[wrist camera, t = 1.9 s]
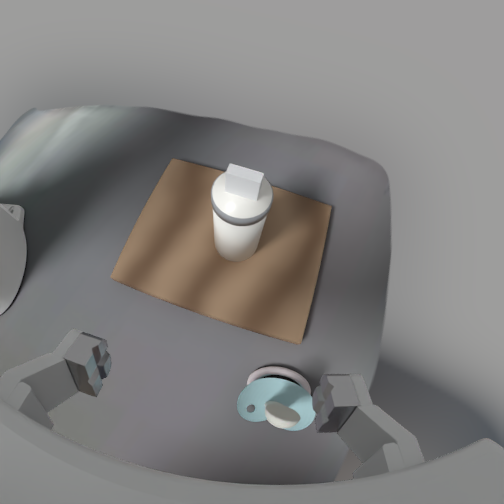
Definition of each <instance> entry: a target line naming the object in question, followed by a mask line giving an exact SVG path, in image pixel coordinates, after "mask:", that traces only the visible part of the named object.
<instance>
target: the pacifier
mask: <svg viewBox="0 0 504 504" xmlns="http://www.w3.org/2000/svg"><path fill="white" fill-rule="evenodd" d="M267 375H282V376H285V377H288V378H290V379H292V380H294V381H295V382H296V383H297V384H298V385H297V384H295V383H293V382H290V381H288V380H284V379H279V378H262V377H264V376H267ZM260 378H262V379H260ZM250 404H253V405H254V406H255V410H254V411H253V412H248V411H247V406H248V405H250ZM237 409H238V412H239V414H240V415H241V416H242V417H243V418H244V419H246V420H248V421H253V422H260V421H265V420H268V421H269V422H270V423H271V424H272V425H273V426H275V427H278V428H282V429H285V430H290V431H297V430H302V429H304V428H306V427H307V426H309V425H310V424H311V423H312V421H313V419H314V417H315V411H314V410H313V406H312V397H311V389H310V385H309V383H308V382H307V380H306V379H305V378H304V377H303V376H301V375H300V374H298V373H297V372H295V371H293V370H290V369H287V368H283V367H276V366H269V367H263V368H260V369H258V370H255V371H254V372H253V373H252V374H250V376H249V378H248V380H247V386H246V387H245V388H244V389H243V390H242V392H241V393H240V395H239V397H238V401H237Z"/></svg>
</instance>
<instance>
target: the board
mask: <svg viewBox="0 0 504 504" xmlns="http://www.w3.org/2000/svg"><path fill="white" fill-rule="evenodd" d="M222 173H224V172H223V171H220V170H216V169H212V168H209V167H205V166H201V165H197V164H194V163H190V162H186V161H182V160H178V159H174V158H172V160H171V161H170V163H169V165H168V166H167V168H166V170H165V171H164V173H163V175H162V176H161V178H160V180H159V182H158V183H157V185H156V187H155V188H154V190H153V192H152V194H151V196H150V197H149V199H148V201H147V203H146V205H145V207H144V208H143V210H142V212H141V214H140V216H139V218H138V220H137V222H136V224H135V226H134V228H133V230H132V232H131V234H130V236H129V238H128V240H127V242H126V244H125V246H124V248H123V250H122V252H121V254H120V257H119V259H118V261H117V263H116V265H115V268H114V270H113V272H112V275H111V278H112V279H113V280H115V281H117V282H119V283H122V284H124V285H126V286H129V287H131V288H134V289H136V290H138V291H141V292H143V293H146V294H148V295H151V296H153V297H156V298H158V299H161V300H164V301H166V302H169V303H171V304H174V305H177V306H179V307H182V308H185V309H188V310H190V311H193V312H196V313H199V314H201V315H204V316H207V317H210V318H213V319H216V320H219V321H222V322H225V323H228V324H231V325H234V326H237V327H240V328H243V329H246V330H250V331H253V332H256V333H259V334H263V335H266V336H269V337H273V338H276V339H280V340H283V341H287V342H290V343H294V344H301V341H302V338H303V334H304V330H305V326H306V322H307V319H308V315H309V311H310V307H311V303H312V298H313V294H314V290H315V286H316V281H317V277H318V272H319V268H320V263H321V259H322V254H323V249H324V244H325V239H326V234H327V229H328V224H329V218H330V213H331V207H332V206H329V205H326V204H324V203H321V202H318V201H315V200H312V199H310V198H307V197H304V196H301V195H298V194H295V193H292V192H289V191H286V190H283V189H280V188H277V187H273V186H272V189H273V194H274V196H273V202H272V205H271V208H270V211H269V213H268V214H267V217H266V220H265V223H264V226H263V230H262V233H261V236H260V239H259V243H258V246H257V249H256V251H255V253H254V254H253V255H252V256H251V257H250V258H248V259H247V260H244V261H240V262H233V261H229V260H227V259H225V258H223V257H222V256H221V255H220V254H219V253H218V252H217V250H216V247H215V241H214V222H213V207H212V203H211V188H212V185H213V183H214V181H215V180H216V178H217V177H218V176H219V175H221V174H222Z"/></svg>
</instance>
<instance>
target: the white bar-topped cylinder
mask: <svg viewBox="0 0 504 504" xmlns="http://www.w3.org/2000/svg"><path fill="white" fill-rule="evenodd" d="M273 196H274V194H273V189H272V186H271V184H270V182H269V181H268V180H267V179H266V178H265V177H264V173H261V172H258V171H254V170H251V169H248V168H244V167H241V166H237V165H234V164H230V165H229V167H228V169H227V171H226V172H224V173H222V174H221V175H219V176H218V177H217V178H216V180H215V181H214V183H213V185H212V188H211V203H212V207H213V222H214V241H215V247H216V250H217V252H218V253H219V254H220V255H221V256H222V257H223V258H225V259H227V260H229V261H233V262H240V261H244V260H247V259H248V258H250V257H251V256H252V255H253V254H254V253H255V251H256V249H257V246H258V243H259V239H260V236H261V233H262V230H263V226H264V223H265V220H266V217H267V214H268V213H269V211H270V208H271V205H272V202H273Z"/></svg>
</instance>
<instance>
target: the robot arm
mask: <svg viewBox="0 0 504 504" xmlns="http://www.w3.org/2000/svg"><path fill="white" fill-rule="evenodd" d="M24 213H25V212H24V209H23V208H22V207H21V206H19V205H11V204H0V315H1V314H2V313H3V312H4V311H5V310H6V309H7V308H8V307H9V306H10V304H11V303H12V301H13V299H14V298H15V296H16V294H17V292H18V289H19V287H20V284H21V281H22V278H23V274H24V270H25V264H26V255H27V246H26V238H25V234H24V230H23V222H24ZM107 348H108V344H107V340H105V339H102V338H99V337H96V336H93V335H91V334H88V333H85V332H81V331H79V330H76V329H72V330H70V331H69V332H68V333H67V335H66V336H65V337H64V339H63V340H62V341H61V342H60V344H59V345H58V346H57V348H56V349H55V350H54V352H53V353H52V354H51V353H47V354H45V355H42V356H40V357H38V358H35V359H33V360H30V361H28V362H26V363H23V364H21V365H18V366H16V367H14V368H11V369H9V370H6V371H5V373H4V374H3V375H2V377H1V378H0V504H504V448H503V447H501V446H500V445H498V444H497V443H495V442H494V441H492V440H490V439H488V438H484V439H481V440H479V441H477V442H475V443H472V444H470V445H468V446H466V447H463V448H461V449H459V450H456V451H454V452H451V453H449V454H446V455H444V456H441V457H438V458H435V459H433V460H430V461H427V462H425V461H424V458H423V455H422V453H421V450H420V447H419V445H418V442H417V439H416V437H415V436H414V435H412V434H411V433H410V432H409V431H407V430H406V429H405V428H403V427H402V426H401V425H400V424H399V423H398V422H396V421H395V420H394V419H392V418H391V417H390V416H389V415H388V414H386V413H385V412H384V411H383V410H382V409H380V408H379V407H378V406H377V405H373V404H372V401H371V398H370V395H369V393H368V390H367V387H366V384H365V382H364V379H363V377H362V375H361V374H324V375H322V377H321V379H320V384H321V385H319V386H318V387H316V389H315V391H314V393H313V398H312V406H313V410H314V411H315V412H316V413H317V416H316V418H315V424H316V430H317V433H332V432H338V433H337V434H338V435H339V436H340V437H341V439H342V440H343V441H344V442H345V443H346V444H347V446H348V447H349V448H350V449H351V450H352V451H353V453H354V454H355V455H356V456H357V457H358V458H359V460H360V461H361V462H362V463H363V464H362V465H361V466H360V467H359V468H358V469H356V470H355V471H354V472H353V478H354V479H351V480H344V481H336V482H327V483H316V484H300V485H255V484H239V483H228V482H219V481H211V480H204V479H198V478H192V477H186V476H181V475H176V474H171V473H167V472H163V471H159V470H155V469H151V468H147V467H143V466H140V465H137V464H133V463H130V462H127V461H124V460H121V459H118V458H115V457H112V456H109V455H107V454H104V453H101V452H99V451H96V450H94V449H91V448H89V447H86V446H84V445H82V444H79V443H77V442H75V441H73V440H71V439H69V438H66V437H64V436H62V435H60V434H58V433H56V432H54V431H52V430H51V429H52V427H53V425H54V424H53V421H52V420H51V419H50V417H49V416H48V414H47V412H49V411H50V410H52V409H53V408H55V407H57V406H58V405H60V404H61V403H63V402H64V401H66V400H67V399H69V398H70V397H72V396H73V395H75V394H76V393H78V391H80V392H83V393H86V394H89V395H92V396H95V397H97V396H98V394H99V392H100V390H101V388H102V386H103V384H102V379H104V378H106V377H107V376H108V374H109V372H110V368H111V357H110V354H109V353H108V352H107V351H106V350H107Z"/></svg>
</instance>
